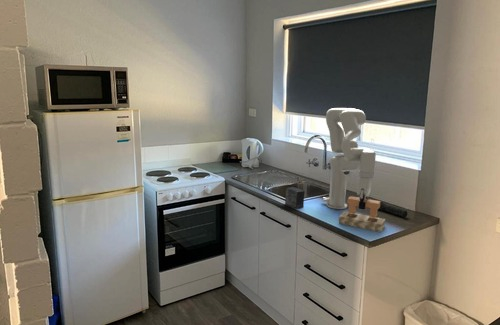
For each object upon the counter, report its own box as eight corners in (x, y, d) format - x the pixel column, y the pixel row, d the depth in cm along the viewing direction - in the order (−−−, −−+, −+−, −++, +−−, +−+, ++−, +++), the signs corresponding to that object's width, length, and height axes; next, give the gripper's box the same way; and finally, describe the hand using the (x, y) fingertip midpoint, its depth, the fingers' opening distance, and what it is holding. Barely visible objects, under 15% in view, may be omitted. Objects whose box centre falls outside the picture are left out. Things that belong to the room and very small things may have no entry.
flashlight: (376, 207, 237) (377, 199, 235) (407, 217, 220) (408, 209, 219) (371, 208, 234) (372, 200, 233) (402, 219, 217) (403, 210, 216)
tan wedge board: (346, 212, 206) (347, 198, 205) (349, 210, 211) (350, 196, 209) (377, 218, 199) (378, 203, 197) (379, 215, 203) (380, 201, 201)
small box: (304, 207, 232) (305, 190, 230) (296, 209, 228) (297, 192, 226) (292, 202, 240) (293, 186, 238) (284, 204, 237) (285, 187, 234)
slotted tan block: (338, 223, 207) (339, 216, 206) (344, 217, 215) (344, 211, 215) (380, 232, 196) (381, 224, 195) (384, 226, 205) (385, 219, 204)
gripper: (363, 170, 209) (360, 202, 213) (354, 176, 195) (351, 210, 198) (377, 172, 205) (373, 204, 209) (369, 178, 191) (366, 213, 195)
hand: (363, 207), depth 204 cm, fingers closed on tan wedge board, 5 cm apart
